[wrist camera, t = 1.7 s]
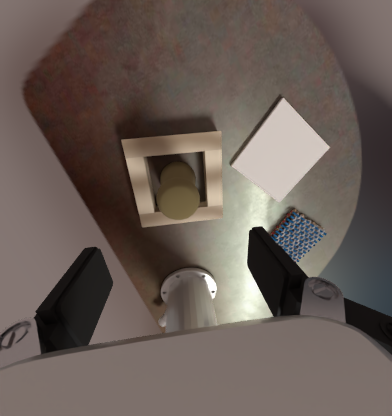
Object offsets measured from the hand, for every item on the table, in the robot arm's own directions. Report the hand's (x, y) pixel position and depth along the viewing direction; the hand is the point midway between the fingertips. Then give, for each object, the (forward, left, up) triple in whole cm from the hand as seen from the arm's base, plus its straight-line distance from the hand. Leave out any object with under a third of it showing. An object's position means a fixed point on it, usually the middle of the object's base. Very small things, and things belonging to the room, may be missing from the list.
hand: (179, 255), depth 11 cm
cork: (0, 0, -20) cm, 20 cm away
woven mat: (+3, -27, -21) cm, 34 cm away
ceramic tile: (+13, -12, -20) cm, 27 cm away
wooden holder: (0, 0, -20) cm, 20 cm away
